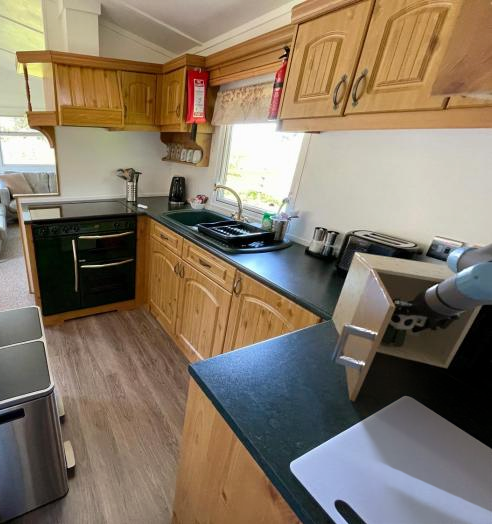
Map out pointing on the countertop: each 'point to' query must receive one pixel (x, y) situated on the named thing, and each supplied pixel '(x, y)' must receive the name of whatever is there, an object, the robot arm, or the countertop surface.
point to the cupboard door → (364, 333)
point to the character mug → (400, 328)
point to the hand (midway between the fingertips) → (391, 323)
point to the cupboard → (406, 289)
